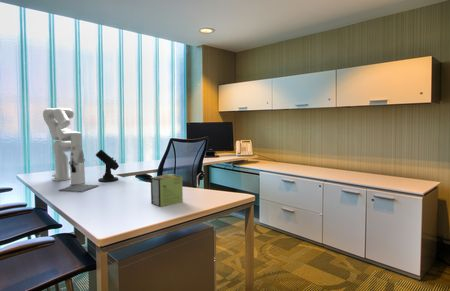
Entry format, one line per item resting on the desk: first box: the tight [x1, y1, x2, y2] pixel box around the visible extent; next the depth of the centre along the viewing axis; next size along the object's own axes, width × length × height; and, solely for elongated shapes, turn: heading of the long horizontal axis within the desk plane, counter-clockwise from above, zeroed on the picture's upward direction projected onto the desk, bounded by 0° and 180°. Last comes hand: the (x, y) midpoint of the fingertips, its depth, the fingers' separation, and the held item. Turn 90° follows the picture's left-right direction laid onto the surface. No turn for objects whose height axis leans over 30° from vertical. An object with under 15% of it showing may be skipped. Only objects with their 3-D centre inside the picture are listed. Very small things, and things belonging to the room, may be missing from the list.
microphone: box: [95, 149, 120, 183], centre depth 237 cm, size 15×17×25 cm
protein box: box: [150, 173, 184, 208], centre depth 173 cm, size 10×15×16 cm
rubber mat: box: [58, 183, 100, 193], centre depth 210 cm, size 18×18×1 cm
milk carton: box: [69, 162, 86, 185], centre depth 225 cm, size 7×7×19 cm
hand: (77, 171), depth 225 cm, fingers closed on milk carton, 7 cm apart
